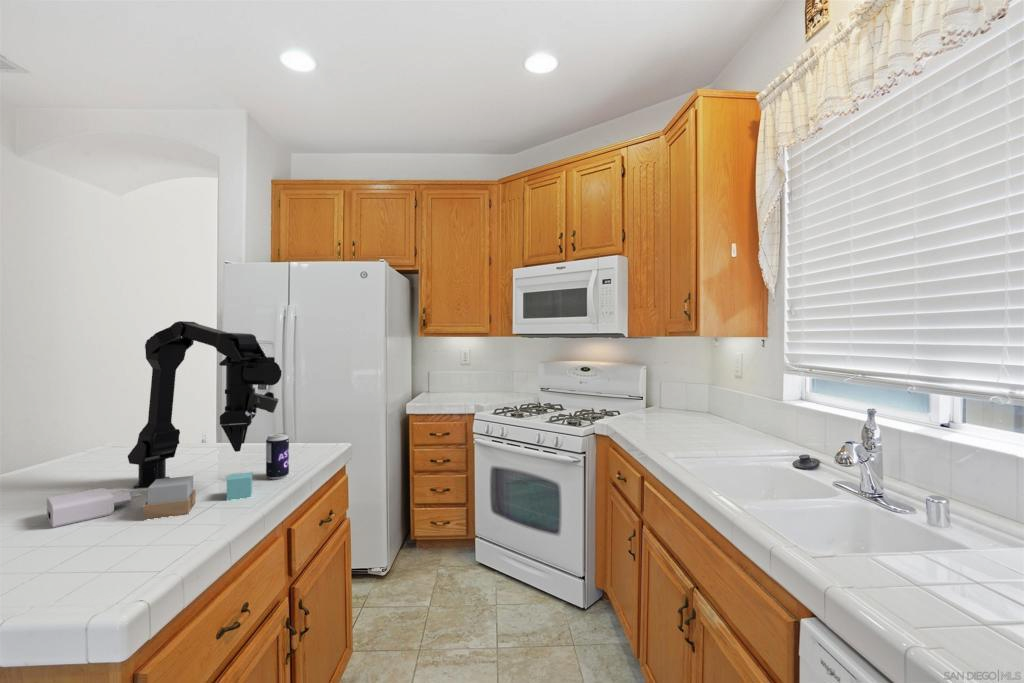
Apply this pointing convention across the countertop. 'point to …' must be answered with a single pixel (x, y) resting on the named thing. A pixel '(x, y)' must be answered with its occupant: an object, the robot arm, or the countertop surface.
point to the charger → (84, 505)
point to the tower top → (170, 489)
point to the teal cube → (239, 486)
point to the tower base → (169, 508)
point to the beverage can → (277, 456)
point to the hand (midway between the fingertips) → (239, 447)
